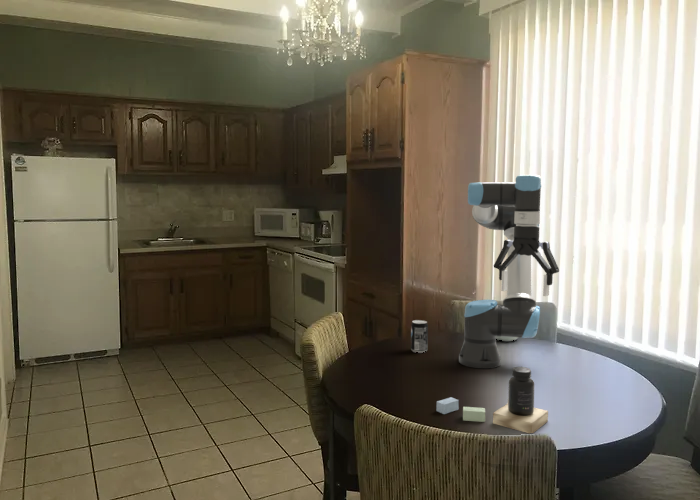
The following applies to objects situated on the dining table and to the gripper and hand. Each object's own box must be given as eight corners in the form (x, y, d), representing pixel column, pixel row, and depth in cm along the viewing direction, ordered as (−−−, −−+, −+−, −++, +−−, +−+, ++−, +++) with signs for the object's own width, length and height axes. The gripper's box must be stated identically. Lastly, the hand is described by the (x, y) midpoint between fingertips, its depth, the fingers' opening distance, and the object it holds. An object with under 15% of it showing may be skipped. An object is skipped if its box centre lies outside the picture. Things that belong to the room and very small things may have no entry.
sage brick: (463, 421, 159) (463, 410, 159) (462, 416, 162) (463, 406, 162) (485, 422, 158) (485, 412, 158) (484, 418, 161) (484, 408, 160)
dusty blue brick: (444, 414, 163) (444, 404, 163) (436, 411, 166) (436, 401, 165) (458, 410, 167) (458, 400, 167) (450, 407, 169) (451, 397, 169)
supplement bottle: (504, 407, 160) (505, 365, 159) (527, 406, 161) (528, 365, 160) (513, 417, 153) (514, 373, 152) (538, 416, 154) (539, 372, 153)
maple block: (492, 423, 157) (493, 412, 156) (510, 411, 165) (510, 401, 165) (531, 434, 150) (532, 423, 149) (547, 421, 158) (548, 410, 158)
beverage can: (415, 348, 234) (416, 319, 233) (430, 350, 230) (430, 321, 229) (407, 351, 228) (408, 322, 227) (422, 354, 225) (422, 324, 223)
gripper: (484, 224, 182) (482, 290, 184) (562, 227, 166) (560, 299, 168) (494, 223, 188) (493, 287, 190) (571, 226, 172) (569, 295, 174)
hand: (524, 293), depth 179 cm, fingers open, 13 cm apart
